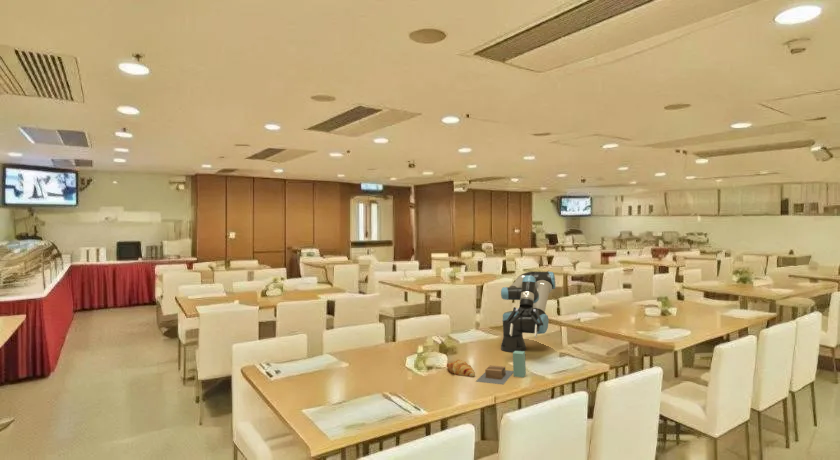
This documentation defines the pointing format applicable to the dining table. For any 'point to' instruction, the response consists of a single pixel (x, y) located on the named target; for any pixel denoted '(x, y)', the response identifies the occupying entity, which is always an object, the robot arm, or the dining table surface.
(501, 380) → the placemat
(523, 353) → the pillar
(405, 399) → the dining table surface
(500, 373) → the plinth
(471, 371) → the croissant
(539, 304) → the robot arm
